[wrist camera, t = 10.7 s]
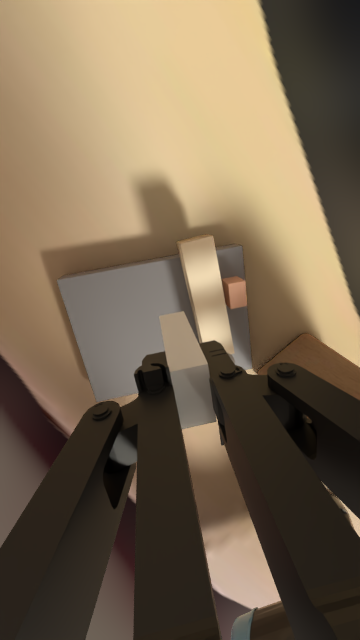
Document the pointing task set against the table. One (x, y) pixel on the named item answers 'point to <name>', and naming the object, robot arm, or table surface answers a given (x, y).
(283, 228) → the table surface
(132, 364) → the stool seat
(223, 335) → the folding leg
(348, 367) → the wooden block
